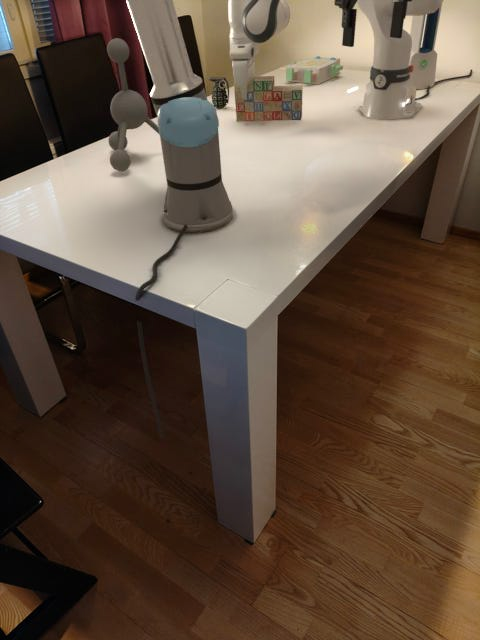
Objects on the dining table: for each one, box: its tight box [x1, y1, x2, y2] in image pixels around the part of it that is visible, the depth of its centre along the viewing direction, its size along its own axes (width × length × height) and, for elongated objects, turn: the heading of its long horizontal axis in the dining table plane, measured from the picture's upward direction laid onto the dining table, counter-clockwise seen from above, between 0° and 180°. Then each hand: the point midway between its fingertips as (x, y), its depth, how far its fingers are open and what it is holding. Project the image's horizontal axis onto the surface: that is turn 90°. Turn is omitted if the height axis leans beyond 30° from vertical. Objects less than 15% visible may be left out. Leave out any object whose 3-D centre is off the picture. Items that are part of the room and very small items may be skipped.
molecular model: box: [106, 37, 160, 172], centre depth 131 cm, size 24×22×30 cm
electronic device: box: [409, 3, 443, 90], centre depth 178 cm, size 12×8×30 cm, turn 105°
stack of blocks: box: [233, 75, 304, 123], centre depth 157 cm, size 21×6×12 cm, turn 81°
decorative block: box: [285, 55, 344, 85], centre depth 205 cm, size 26×6×20 cm
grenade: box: [208, 76, 230, 110], centre depth 174 cm, size 7×6×10 cm
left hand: (372, 41), depth 103 cm, fingers open, 13 cm apart
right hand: (246, 95), depth 157 cm, fingers closed on stack of blocks, 6 cm apart
